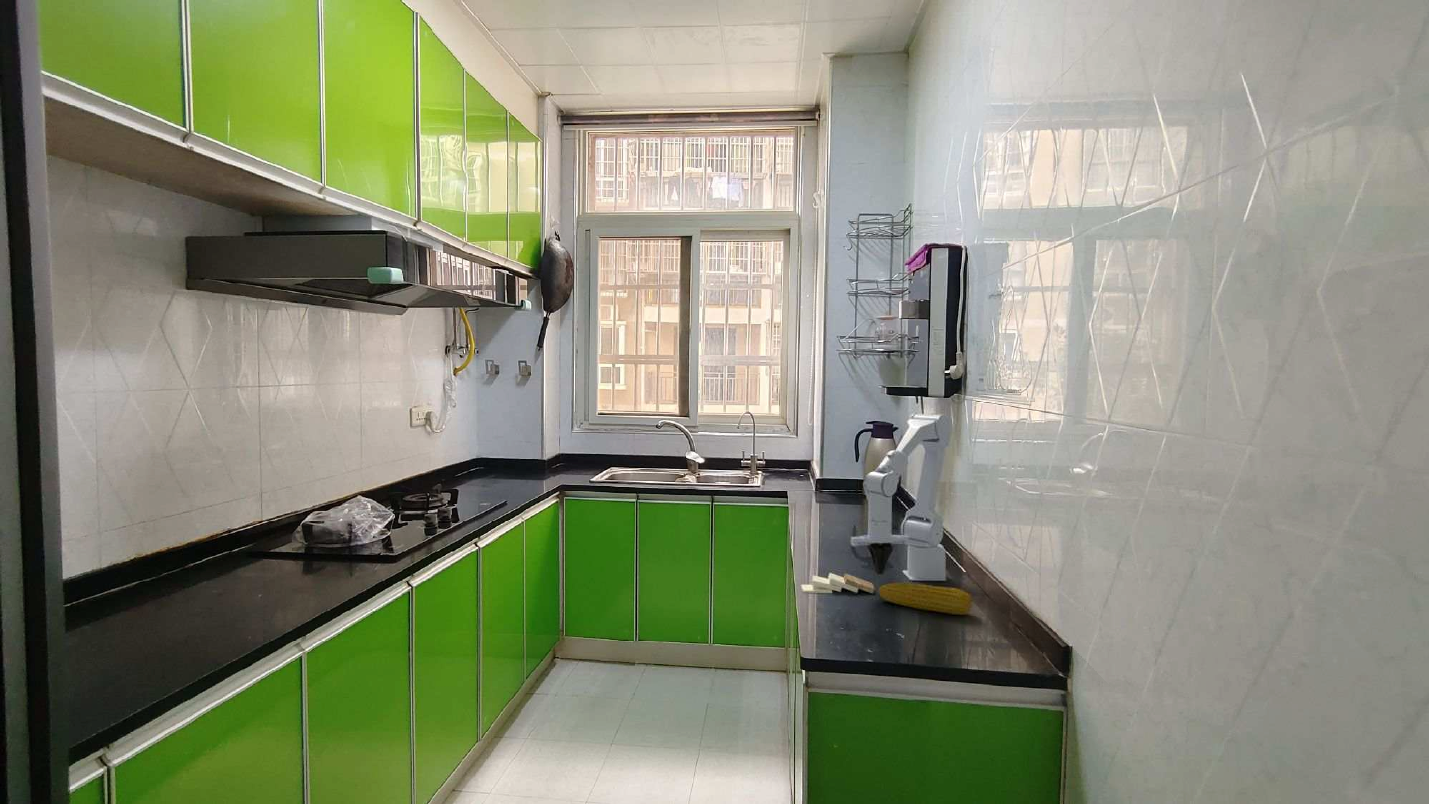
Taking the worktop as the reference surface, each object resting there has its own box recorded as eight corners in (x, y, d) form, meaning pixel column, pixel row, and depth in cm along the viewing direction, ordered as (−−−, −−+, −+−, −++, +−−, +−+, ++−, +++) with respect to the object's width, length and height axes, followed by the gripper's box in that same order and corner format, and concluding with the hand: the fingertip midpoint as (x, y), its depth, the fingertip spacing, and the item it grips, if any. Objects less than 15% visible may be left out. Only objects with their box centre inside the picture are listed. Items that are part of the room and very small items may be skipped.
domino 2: (841, 581, 171) (813, 575, 173) (841, 587, 166) (812, 580, 168) (840, 586, 171) (812, 579, 173) (840, 591, 167) (812, 585, 168)
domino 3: (856, 582, 171) (829, 572, 172) (858, 588, 166) (830, 578, 167) (855, 586, 171) (828, 576, 172) (856, 592, 166) (829, 582, 167)
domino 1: (829, 584, 171) (801, 584, 171) (832, 591, 166) (803, 590, 166) (829, 589, 171) (801, 589, 171) (832, 595, 166) (803, 595, 166)
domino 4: (872, 583, 171) (845, 573, 171) (874, 589, 166) (846, 579, 166) (870, 587, 171) (843, 577, 171) (872, 593, 166) (845, 583, 166)
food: (972, 613, 152) (973, 587, 152) (968, 621, 148) (968, 594, 147) (881, 597, 163) (881, 573, 163) (874, 604, 158) (874, 579, 158)
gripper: (900, 515, 173) (899, 567, 173) (846, 517, 171) (846, 569, 171) (912, 521, 166) (911, 575, 166) (856, 523, 164) (856, 577, 164)
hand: (879, 573), depth 168 cm, fingers closed
